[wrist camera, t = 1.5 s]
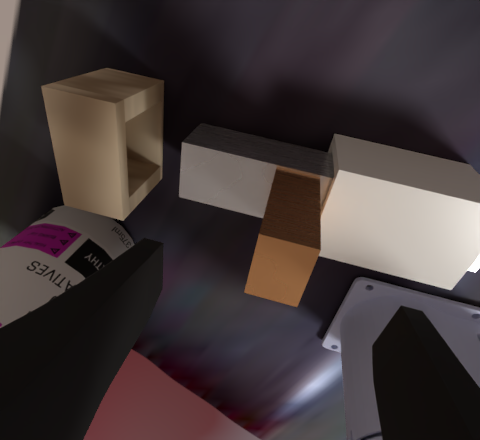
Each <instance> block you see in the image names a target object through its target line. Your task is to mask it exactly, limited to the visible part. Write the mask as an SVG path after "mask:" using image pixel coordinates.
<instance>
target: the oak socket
mask: <svg viewBox="0 0 480 440" xmlns="http://www.w3.org/2000/svg"><path fill="white" fill-rule="evenodd" d="M41 88H42V93H43V98H44V103H45V109H46V114H47V119H48V124H49V129H50V134H51V139H52V144H53V149H54V155H55V160H56V165H57V170H58V175H59V180H60V185H61V190H62V195H63V201H64V205H65V206H69V207H73V208H77V209H80V210H84V211H88V212H92V213H96V214H99V215H103V216H107V217H111V218H114V219H118V220H122V221H124V219H125V218H126V217H127V216H128V215H129V214H130V213H131V212H132V211H133V210H134V209H135V207H136V206H137V205H138V204H139V203H140V202H141V201H142V200H143V199H144V198H145V197H146V196H147V194H148V193H149V192H150V191H151V190H152V189H153V188H154V187H155V186H156V185H157V184H158V182H159V181H160V180H161V179H162V162H163V113H164V81H163V80H159V79H155V78H150V77H146V76H141V75H137V74H132V73H128V72H124V71H119V70H115V69H110V68H104V69H100V70H97V71H93V72H90V73H86V74H82V75H79V76H75V77H72V78H68V79H65V80H61V81H57V82H54V83H50V84H47V85H43V86H41Z"/></svg>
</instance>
